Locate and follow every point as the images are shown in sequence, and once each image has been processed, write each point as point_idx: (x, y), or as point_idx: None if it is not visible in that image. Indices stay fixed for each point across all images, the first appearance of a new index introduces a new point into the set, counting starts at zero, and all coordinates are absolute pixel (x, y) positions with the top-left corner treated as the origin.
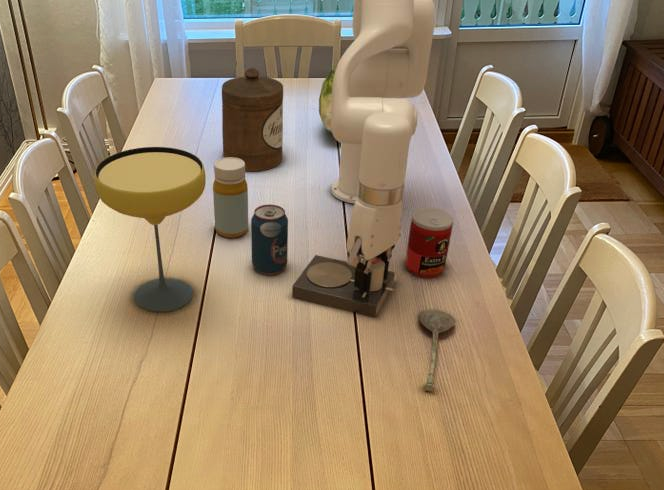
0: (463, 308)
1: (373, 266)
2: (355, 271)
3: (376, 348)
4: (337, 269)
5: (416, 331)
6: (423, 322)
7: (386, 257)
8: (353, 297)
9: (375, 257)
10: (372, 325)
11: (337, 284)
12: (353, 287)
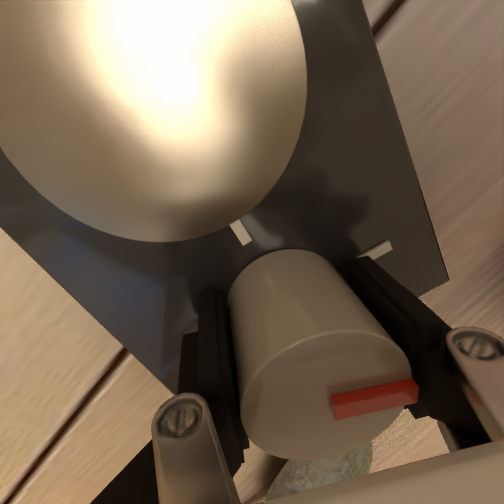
0: (431, 434)
1: (305, 427)
2: (197, 356)
3: (98, 470)
4: (238, 81)
5: (253, 457)
6: (271, 497)
7: (442, 422)
8: (145, 340)
9: (417, 340)
10: (159, 397)
11: (128, 225)
12: (200, 279)
